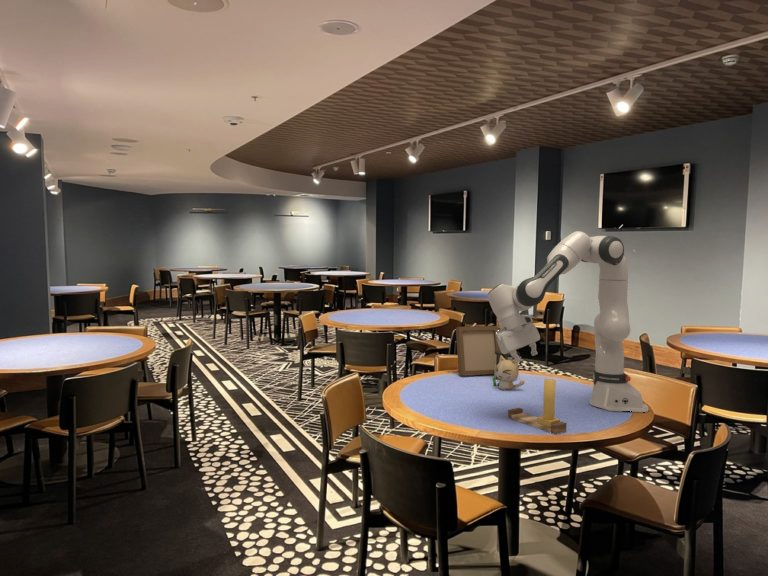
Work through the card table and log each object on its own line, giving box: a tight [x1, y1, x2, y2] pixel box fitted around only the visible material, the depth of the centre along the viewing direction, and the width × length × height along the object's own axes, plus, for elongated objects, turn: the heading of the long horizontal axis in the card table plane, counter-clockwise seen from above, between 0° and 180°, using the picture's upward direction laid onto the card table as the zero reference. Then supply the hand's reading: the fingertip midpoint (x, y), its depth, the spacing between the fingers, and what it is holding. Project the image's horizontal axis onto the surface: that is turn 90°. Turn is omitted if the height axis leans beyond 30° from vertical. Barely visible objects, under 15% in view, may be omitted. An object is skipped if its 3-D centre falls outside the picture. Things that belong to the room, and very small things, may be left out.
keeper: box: [537, 378, 561, 427], centre depth 194 cm, size 6×5×16 cm
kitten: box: [492, 355, 525, 391], centre depth 250 cm, size 15×10×15 cm
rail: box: [507, 407, 567, 435], centre depth 199 cm, size 22×6×3 cm, turn 35°
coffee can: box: [493, 350, 515, 383], centre depth 268 cm, size 10×10×14 cm
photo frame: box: [455, 325, 500, 376], centre depth 280 cm, size 15×22×25 cm
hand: (527, 358), depth 204 cm, fingers open, 8 cm apart
